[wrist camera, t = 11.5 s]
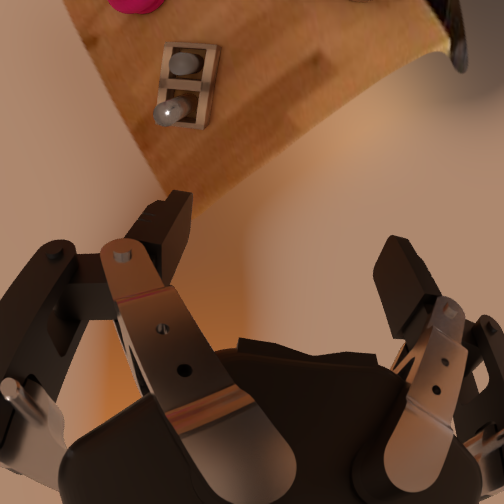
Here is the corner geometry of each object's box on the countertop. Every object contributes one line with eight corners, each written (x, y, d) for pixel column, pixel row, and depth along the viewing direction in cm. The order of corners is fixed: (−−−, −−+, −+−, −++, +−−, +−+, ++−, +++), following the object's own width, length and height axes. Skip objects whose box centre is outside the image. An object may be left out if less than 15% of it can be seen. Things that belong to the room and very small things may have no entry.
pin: (179, 92, 38) (154, 100, 29) (199, 94, 38) (179, 102, 30) (177, 111, 39) (152, 125, 31) (197, 113, 39) (176, 127, 31)
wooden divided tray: (173, 43, 33) (156, 40, 28) (221, 46, 33) (212, 43, 28) (163, 119, 40) (147, 129, 35) (208, 124, 40) (198, 134, 35)
